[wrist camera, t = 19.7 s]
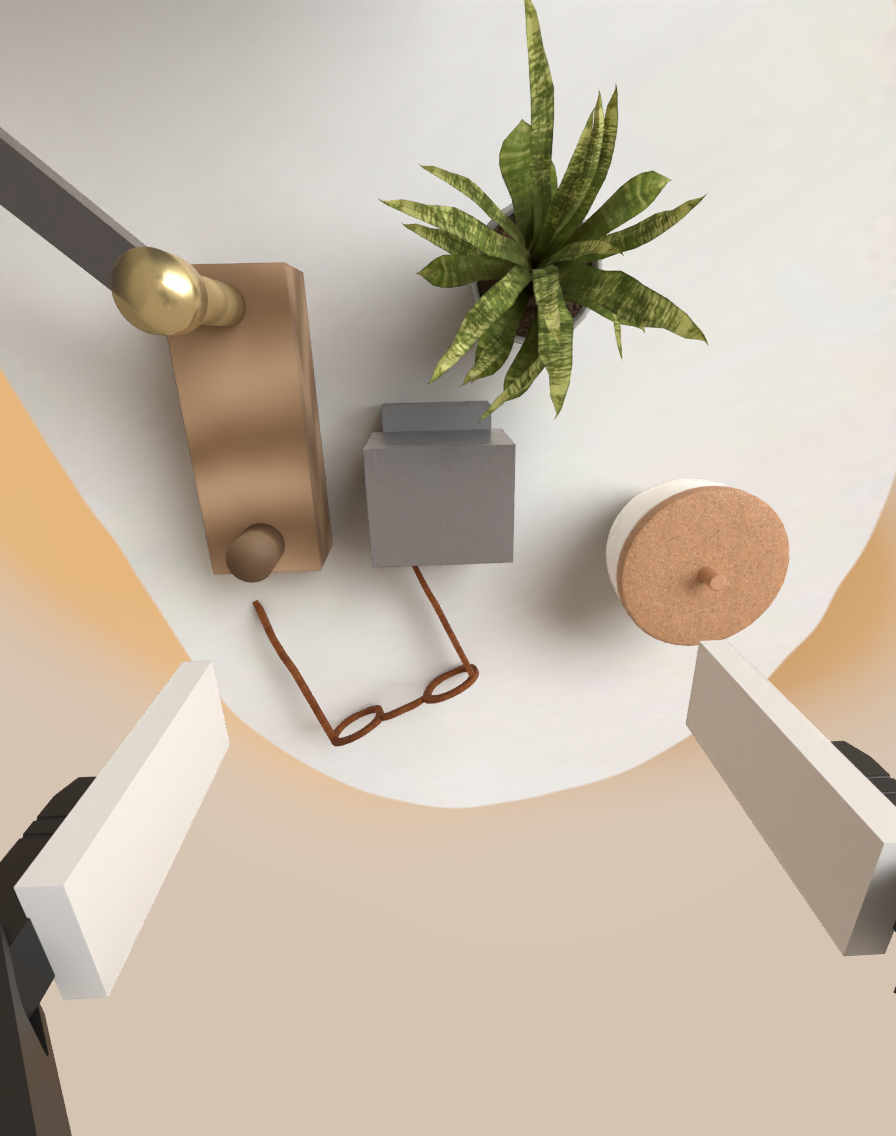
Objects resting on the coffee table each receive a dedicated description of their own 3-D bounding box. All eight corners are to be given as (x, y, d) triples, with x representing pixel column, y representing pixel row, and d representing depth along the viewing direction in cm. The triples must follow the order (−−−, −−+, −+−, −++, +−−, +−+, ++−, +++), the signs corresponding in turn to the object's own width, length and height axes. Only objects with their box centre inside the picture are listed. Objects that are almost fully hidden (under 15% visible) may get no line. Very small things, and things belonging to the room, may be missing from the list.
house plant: (352, 194, 34) (293, 75, 18) (571, 84, 32) (703, -145, 17) (446, 420, 39) (460, 471, 24) (639, 334, 37) (786, 331, 22)
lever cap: (372, 432, 36) (362, 449, 31) (501, 428, 37) (515, 444, 31) (379, 534, 39) (372, 567, 33) (500, 530, 39) (512, 562, 34)
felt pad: (383, 403, 38) (381, 407, 36) (487, 401, 38) (490, 404, 36) (392, 542, 42) (391, 554, 40) (486, 539, 42) (490, 551, 40)
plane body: (189, 275, 35) (78, 244, 24) (303, 272, 35) (246, 241, 24) (237, 548, 42) (168, 624, 30) (332, 544, 42) (298, 619, 31)
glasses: (340, 721, 48) (331, 762, 44) (254, 599, 44) (233, 630, 39) (478, 659, 46) (484, 694, 42) (403, 525, 42) (400, 548, 37)
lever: (222, 290, 24) (208, 286, 23) (183, 351, 25) (167, 351, 24) (-117, 11, 20) (-162, -17, 19) (-149, 93, 21) (-194, 74, 20)
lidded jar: (591, 606, 45) (631, 671, 36) (583, 474, 41) (627, 511, 32) (726, 586, 44) (799, 647, 36) (732, 452, 40) (816, 482, 32)
